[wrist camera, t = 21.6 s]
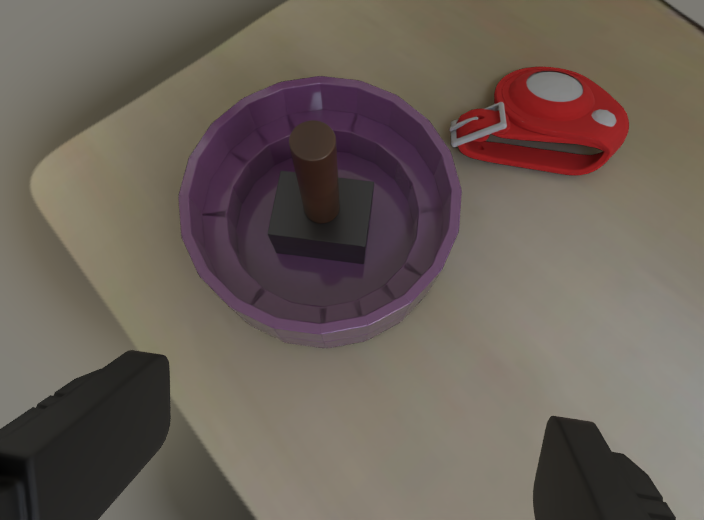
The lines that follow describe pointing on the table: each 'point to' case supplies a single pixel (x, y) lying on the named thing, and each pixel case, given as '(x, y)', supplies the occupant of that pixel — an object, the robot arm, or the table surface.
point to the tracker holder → (544, 122)
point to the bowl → (353, 163)
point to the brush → (319, 202)
